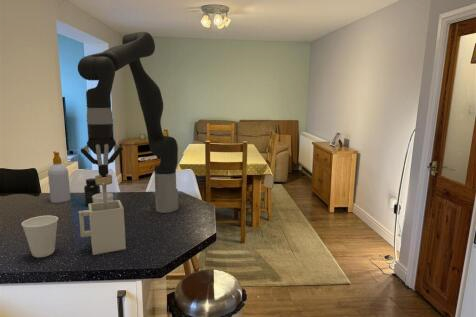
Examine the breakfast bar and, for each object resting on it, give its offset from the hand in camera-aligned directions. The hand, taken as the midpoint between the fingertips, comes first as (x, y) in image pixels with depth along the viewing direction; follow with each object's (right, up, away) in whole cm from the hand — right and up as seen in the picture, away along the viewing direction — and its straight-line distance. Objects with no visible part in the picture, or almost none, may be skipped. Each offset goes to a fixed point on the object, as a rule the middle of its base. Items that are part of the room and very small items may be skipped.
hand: (103, 176), depth 105 cm
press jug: (-2, -24, +4) cm, 24 cm away
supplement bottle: (-25, -16, +48) cm, 57 cm away
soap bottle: (-43, -15, +53) cm, 70 cm away
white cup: (-12, -19, +29) cm, 37 cm away
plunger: (0, -18, +3) cm, 19 cm away
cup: (-18, -25, -2) cm, 31 cm away
